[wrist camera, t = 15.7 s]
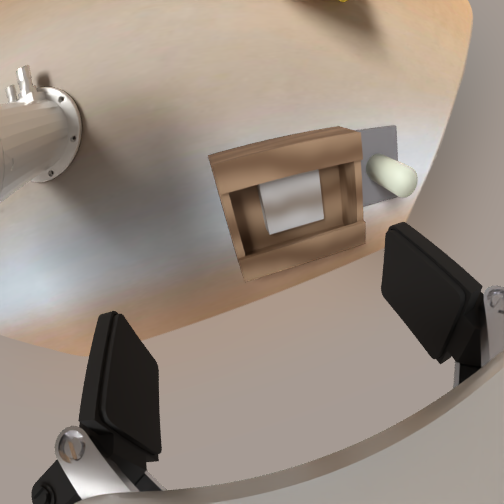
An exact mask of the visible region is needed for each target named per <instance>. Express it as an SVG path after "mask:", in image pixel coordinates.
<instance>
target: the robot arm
mask: <svg viewBox="0 0 504 504" xmlns="http://www.w3.org/2000/svg"><path fill="white" fill-rule="evenodd" d="M16 76H17V81H18V84H19V87H20V93H19V94H18V96H19V99H18V100H17V96H16V90H15V85H11V86H9V87H7V88H6V89H5V91H6V96H7V98H8V102H9V103H7V104H1V105H0V203H1V202H2V201H4V200H5V199H6V198H7V197H9V196H10V195H11V194H13V193H14V192H15V191H17V190H18V189H19V188H21V187H22V186H23V185H25V184H26V183H28V182H29V181H31V182H45V181H48V180H51V179H53V178H55V177H57V176H58V175H60V174H61V173H62V172H63V171H64V170H65V169H66V168H67V167H68V166H69V165H70V164H71V162H72V161H73V159H74V158H75V155H76V153H77V151H78V148H79V145H80V141H81V133H82V124H81V117H80V113H79V110H78V108H77V105H76V104H75V102H74V101H73V99H72V98H71V97H70V96H69V95H68V94H67V93H66V92H64V91H62V90H61V89H58V88H54V87H41V88H36V86H35V85H34V86H33V84H32V79H31V78H32V77H31V72H30V67H29V65H27V66H24V67H21V68H20V69H18V70H17V71H16ZM63 98H64V101H63V100H62V99H63ZM74 136H76V140H75V139H74ZM52 171H53V172H54V173H53V172H52ZM481 289H482V285H481V284H480V283H478V282H477V281H476V280H475V279H474V278H473V277H472V276H471V275H470V274H469V273H467V272H466V271H465V270H464V269H463V268H462V267H461V266H459V265H458V264H457V263H456V262H455V261H454V260H452V259H451V258H450V257H449V256H448V255H446V254H445V253H444V252H443V251H442V250H440V249H439V248H438V247H437V246H435V245H434V244H433V243H432V242H430V241H429V240H428V239H427V238H425V237H424V236H423V235H421V234H420V233H419V232H418V231H416V230H415V229H414V228H412V227H411V226H410V225H408V224H407V223H405V222H401V223H398V224H395V225H392V226H390V227H389V229H388V232H386V236H385V253H384V265H383V276H382V285H381V291H382V295H383V297H384V298H385V299H386V300H387V301H388V303H389V304H390V305H391V307H392V308H393V309H394V310H395V311H396V313H397V314H398V315H399V316H400V318H401V319H402V320H403V321H404V323H405V324H406V325H407V326H408V328H409V329H410V330H411V331H412V333H413V334H414V335H415V336H416V338H417V339H418V341H419V342H420V343H421V344H422V346H423V347H424V348H425V350H426V351H427V352H428V354H429V355H430V356H431V357H432V358H433V359H437V361H438V362H439V363H440V364H442V363H443V362H445V361H446V360H448V359H449V358H450V357H451V356H452V357H453V358H454V360H455V372H454V385H453V389H452V390H451V391H450V392H448V393H447V394H445V395H444V396H442V397H441V398H439V399H438V400H436V401H435V402H433V403H431V404H430V405H428V406H427V407H425V408H423V409H422V410H420V411H418V412H417V413H415V414H413V415H412V416H410V417H408V418H406V419H405V420H403V421H401V422H399V423H397V424H396V425H394V426H392V427H390V428H388V429H386V430H384V431H382V432H380V433H378V434H376V435H374V436H372V437H370V438H368V439H366V440H363V441H361V442H359V443H357V444H355V445H352V446H350V447H347V448H345V449H343V450H340V451H338V452H335V453H333V454H330V455H327V456H325V457H322V458H319V459H317V460H314V461H311V462H308V463H305V464H302V465H298V466H295V467H292V468H289V469H286V470H282V471H278V472H274V473H271V474H267V475H263V476H259V477H254V478H250V479H245V480H241V481H235V482H230V483H224V484H219V485H211V486H204V487H197V488H187V489H178V490H167V489H165V488H164V487H163V486H162V485H161V484H160V483H159V482H158V481H157V480H156V479H155V478H154V477H153V476H152V475H151V474H150V473H149V472H148V471H147V469H146V462H154V461H159V459H158V454H160V453H161V450H162V449H161V448H162V447H161V434H160V416H159V415H160V414H159V382H158V381H159V376H158V375H159V373H158V372H159V370H158V365H157V362H156V361H155V359H154V358H153V357H152V355H151V354H150V353H149V351H148V350H147V349H146V347H145V346H144V344H143V343H142V342H141V340H140V339H139V337H138V336H137V335H136V333H135V332H134V330H133V329H132V327H131V326H130V325H129V323H128V322H127V320H126V319H125V317H124V316H123V315H122V314H118V313H117V312H116V311H112V312H108V313H105V314H101V315H100V316H99V318H98V321H97V325H96V329H95V333H94V337H93V342H92V346H91V351H90V355H89V360H88V365H87V370H86V376H85V381H84V387H83V393H82V399H81V406H80V414H79V422H80V425H79V427H77V426H70V427H67V428H65V429H64V430H63V431H62V432H61V433H60V434H59V436H58V438H57V440H56V444H55V454H56V457H57V460H56V461H55V462H54V463H53V465H52V466H51V467H50V468H49V469H48V470H47V471H46V472H45V473H44V474H43V475H42V476H41V477H40V479H39V480H38V481H37V482H36V483H35V484H34V486H33V489H32V502H33V504H504V287H501V286H491V287H488V288H487V289H486V290H485V292H484V294H483V293H481Z"/></svg>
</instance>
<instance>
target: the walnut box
mask: <svg viewBox="0 0 504 504" xmlns="http://www.w3.org/2000/svg"><path fill="white" fill-rule="evenodd" d="M208 157H209V161H210V165H211V168H212V172H213V175H214V179H215V183H216V186H217V190H218V193H219V197H220V200H221V204H222V207H223V211H224V214H225V218H226V221H227V225H228V228H229V232H230V235H231V239H232V242H233V245H234V249H235V252H236V256H237V259H238V262H239V265H240V268H241V271H242V274H243V278H244V281H245V282H248V281H251V280H254V279H257V278H261V277H264V276H267V275H270V274H273V273H277V272H280V271H283V270H286V269H289V268H292V267H295V266H299V265H302V264H305V263H308V262H311V261H314V260H317V259H320V258H323V257H326V256H329V255H332V254H335V253H338V252H341V251H344V250H347V249H350V248H353V247H356V246H359V245H362V244H365V231H366V225H365V221H363V192H362V172H361V160H363V151H362V140H361V132H357V131H354V130H350V129H347V128H343V127H340V126H337V127H331V128H325V129H319V130H313V131H308V132H303V133H298V134H293V135H288V136H283V137H278V138H274V139H269V140H265V141H261V142H257V143H252V144H248V145H244V146H241V147H237V148H233V149H229V150H225V151H222V152H218V153H215V154H211V155H208Z"/></svg>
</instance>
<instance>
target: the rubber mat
mask: <svg viewBox="0 0 504 504" xmlns="http://www.w3.org/2000/svg"><path fill="white" fill-rule="evenodd" d="M356 131H357V132H361V140H362V151H363V160H361V172H362V192H363V206H366V205H370V204H373V203H377V202H381V201H384V200H388V199H391V198H395V197H398V196H397V195H395V194H394V193H392V192H391V191H389V190H387V189H386V188H384V187H383V186H381V185H379V184H378V183H376V182H374V181H373V180H371V179H370V178H369V177H368V176H367V173H366V164H367V162H368V160H369V158H370V157H371V156H373V155H374V154H383V155H385V156H387V157H390V158H392V159H394V160H396V161H398V152H397V131H396V126H385V127H377V128H370V129H363V130H356Z"/></svg>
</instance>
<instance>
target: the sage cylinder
mask: <svg viewBox="0 0 504 504" xmlns="http://www.w3.org/2000/svg"><path fill="white" fill-rule="evenodd" d="M366 173H367V176H368V177H369V178H370V179H371V180H373V181H374V182H376V183H378V184H379V185H381V186H383V187H384V188H386V189H387V190H389V191H391V192H392V193H394V194H395V195H397V196H399V197H401V198H405V197H408V196H410V195H411V194H412V193H413V191H414V190H415V188H416V185H417V173H416V171H415V170H414V169H413V168H411V167H409V166H407V165H405V164H403V163H401V162H399V161H396V160H394V159H392V158H390V157H387V156H385V155H383V154H374V155H373V156H371V157H370V158H369V160H368V162H367V164H366Z"/></svg>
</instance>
